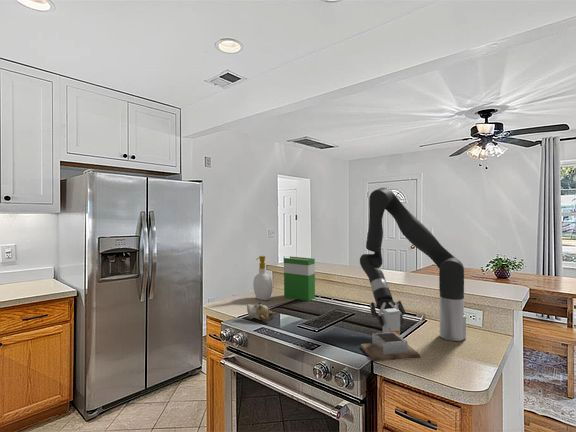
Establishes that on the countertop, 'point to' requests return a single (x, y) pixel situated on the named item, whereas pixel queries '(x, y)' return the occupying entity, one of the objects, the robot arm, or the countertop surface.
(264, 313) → the ceramic sculpture
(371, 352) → the walnut board
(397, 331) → the skincare box
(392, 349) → the steel slot collar
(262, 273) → the soap bottle
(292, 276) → the green cereal box
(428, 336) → the countertop surface
